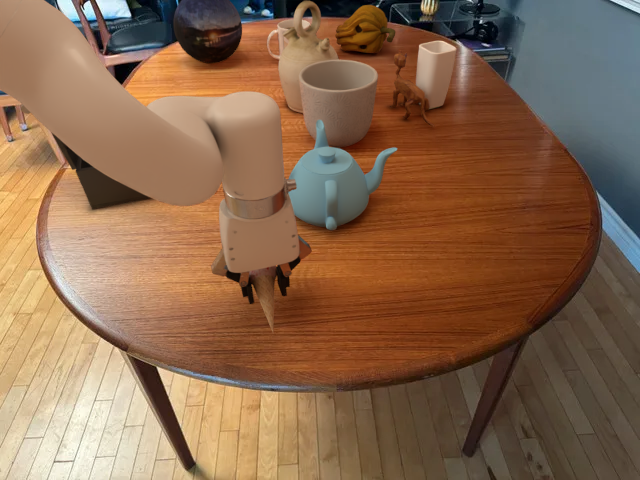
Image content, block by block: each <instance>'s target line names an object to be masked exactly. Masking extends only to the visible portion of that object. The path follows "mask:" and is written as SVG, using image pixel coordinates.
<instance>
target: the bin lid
mask: <svg viewBox="0 0 640 480" xmlns="http://www.w3.org/2000/svg"><path fill="white" fill-rule="evenodd" d="M20 111H21V112H22V113H23V114H27V115H29V114H31V112H30V111H29V110H28V109H27V108H26V107H25V106H23V105H22V104H21V103H20ZM50 134H52V137H53V138H54V140H55V142H56V145H58V146H59V149H60V151H61V152H62V154H63V156H64V158H65V160H66V161H67V163H68V165H69V166H70V168H71V171H75V170H76V169H77V163H78V155H77V154H76V153H75V152H74V151H72V150H71V149H70V148H69V147H68V146H67V145H66V144H64V143H63V142H62V141H61V140H60V139H59V138H58V137H56V136H55V135H54V134H53V133H52V132H50Z"/></svg>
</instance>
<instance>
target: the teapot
mask: <svg viewBox="0 0 640 480" xmlns="http://www.w3.org/2000/svg"><path fill="white" fill-rule="evenodd" d="M316 130H317V135H316V140H315V143H314V147H313V148H312V149H311V150H308V151H307V152H306V153H304V154H303V155H302V156H301V157H300V158H299V160H298V161H297V162H296V164H295V166H294V167H293V168H292V170H291V172H290V174H289V176H288V179H289V180H291V179H295V181H296V186H297V188H296V189H295V190H291V191H290V192H288V194H289V196H290V199H291V202H292V206H293V210H294V215H295V217H296V218H298V219H299V220H301V221H303V222H305V223H307V224H308V225H312V226H315V227H321V228H322V227H323V228H326V230H329V231H334V230H337V228H338V227H339V226H342V225H346V224H348V223H350V222H351V221H353V220H355V219H356V218H357V217H359V216H360V215H361V214H362V213H363V212H365V210H366V208H367V207H368V204H369V201H370V195H371V194H373V193H374V192H375V191H376V190H377V189H379V187H380V185H381V183H382V180H383V176H384V171H385V170H384V169H385V165H386V164H387V163H386V162H387V160H388V159H389V158H390V156H392V155H393V154H394V153H395V152H396V151H398V147H390V148H386V149H383V150H382V151H381V152H380V153H379V154H378V155H377V157H376V159H375V160H374V164H373V167H372V168H371V169H370V171H368V172H366V173H364V172H363V170H362V167H360V165H359V163H358V162H357V161H356V159H355V158H354V156H352V155H351V154H350V153H349V152H347V151H346V150H344V149H343V148H340V147H330V146H329V145H328V141H327V137H326V132H325V126H324V123H323V122H322V120H317V122H316Z"/></svg>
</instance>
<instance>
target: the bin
mask: <svg viewBox="0 0 640 480" xmlns="http://www.w3.org/2000/svg"><path fill="white" fill-rule="evenodd" d="M75 174H76V176H77V178H78V180H79V182H80V185H81V188H82V190H83V192H84V194H85V197H86V199H87V201H88V203H89V206H90V207H91V210H96V209H103V208H107V207H112V206H118V205H124V204H128V203H132V202H133V203H134V202H139V201H144V200H149V199H151V198H150V197H148V196H146V195H144V194H142V193H140V192H138V191H136V190H134V189H132V188H130V187H128V186H126V185H124V184H122V183H120V182H118V181H116V180H114V179H112V178H110V177H109V176H107V175H105V174H103V173H102V172H100V171H99V170H97V169H96V168H94V167H93V166H91V165H90V164H89V163H87V162H86V161H85V160H83V159H82V158H81V157H80V156H78V163H77V169H75Z"/></svg>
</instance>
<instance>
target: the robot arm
mask: <svg viewBox="0 0 640 480" xmlns="http://www.w3.org/2000/svg"><path fill="white" fill-rule="evenodd" d="M0 91H1V92H2V93H5V94H6V95H8V96H9V97H11V98H12V99H15V101H17V102H19V103H20V105H21V104H22V105H23V106H25V107H26V108H27V109H28V110H29V111H30V112H31V113H30V114H31V115H32V116H33V117H34V118H35V120H37V121H38V122H39V123H40V124H41V125H42V126H44V128H45V129H46V130H48V131H49V132H50V133H51V132H52V133H53V134H54V135H55V136H56V137H58V138H59V139H60V140H61V141H62V142H63V143H64V144H66V145H67V146H68V147H69V148H70V149H71V150H72V151H74V152H75V153H76V154H77V155H78V156H80V157H81V158H82V159H83V160H85V161H86V162H87V163H89V164H90V165H91V166H93V167H94V168H96V169H97V170H99V171H100V172H102V173H103V174H105V175H107V176H109V177H110V178H112V179H114V180H116V181H118V182H120V183H122V184H124V185H126V186H128V187H130V188H132V189H134V190H136V191H138V192H140V193H142V194H144V195H146V196H148V197H150V199H153V200H155V201H157V202H160V203H163V204H167V205H170V206H175V207H176V206H177V207H191V206H192V207H193V206H198V205H199V204H203V203H205V202H206V201H209V199H211V198H212V197H213V196H214V195H215V194H216V193H217V192H218V190H219V189H220V187H221V185H222V192H223V197H224V198H222V199H221V201H220V203H219V209H218V225H219V235H220V243H221V249H220V251H219V252H218V254H217V255H216V257H215V258H214V259H213V261H212V263H211V264H210V268H211V273H212V274H213V275H216V276H219V277H226V279H228V280H230V281H233V282H235V283H237V284H239V286H240V290H241V294H242V298H243V299H244V298H247V299H248V303H249V305H254V304H255V297H254V290H253V285H252V284H251V281H250V277H249V273H250V271H252V270H257V269H262V268H267V267H271V266H276V271H277V277H276V280H277V286H278V288H279V292H280V295H281V297H283V298H284V297H287V296H288V289H287V288H290V287H291V282H290V276H292V275H293V272H292V271H293V270H295V268H296V267H297V266H298V265H299V264H300V263H301V260H305V259H306V258H307V257H308V256H309V255H310V254H312V252H313V251H312V247H311V245H310V244H309V243H308V242H307V241H306V240H305V239H303V238H302V237H301V236H300V235H299V234H298V233H299V232H298V226H297V220H296V215H294V210H293V206H292V202H291V199H290V196H289V194H288V192H290V191H291V190H295V189H296V188H297V186H296V181H295V179H291V180H289V178H286V177H285V166H284V148H283V147H284V146H283V129H282V117H281V110H280V106H279V105H278V103H277V101H276V100H275V99H274V98H272V97H271V96H270V95H268V94H265V93H263V92H259V91H253V90H252V91H250V90H247V91H237V92H236V91H235V92H232V93H229V94H226V95H224V96H194V95H193V96H191V95H168V96H163V97H160V98H157V99H155V100H152V101H151V102H150V103H148V104H147V105H145V104H143V103H142V102H141V101H140V100H138V98H136V97H135V96H134V95H133V94H131V93H130V92H129V91H128V90H127V89H126V88H125V87H124V86H123V85H122V84H121V83H120V82H119V80H117V79H116V78H115V77H114V76H113V74H112V73H111V72H110V70H109V69H107V67H106V66H105V65H104V63H103V62H102V61H101V59H100V58H99V56H98V54H97V53H96V52H95V50H94V48H93V47H92V46H91V43H89V41H88V40H87V38H86V37H85V36H84V34H83V33H82V31H81V30H80V29H79V28H78V26H76V25H75V23H74V22H73V21H72V20H71V19H70V18H69V17H68V16H67V15H66V14H64V12H62V11H60V9H58V8H56V7H55V6H53V5H52V4H51V3H49V2H48V1H46V0H0ZM52 133H51V134H52Z"/></svg>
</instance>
